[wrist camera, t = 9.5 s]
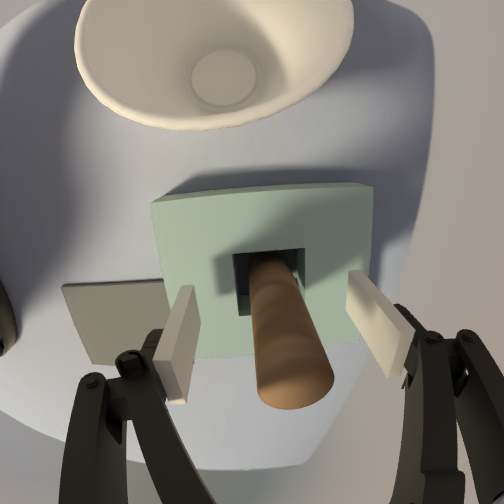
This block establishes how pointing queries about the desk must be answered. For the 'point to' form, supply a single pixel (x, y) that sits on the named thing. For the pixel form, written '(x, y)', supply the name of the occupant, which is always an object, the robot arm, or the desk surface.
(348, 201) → the socket block
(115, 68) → the cup
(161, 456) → the robot arm
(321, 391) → the peg
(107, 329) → the mat
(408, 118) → the desk surface
